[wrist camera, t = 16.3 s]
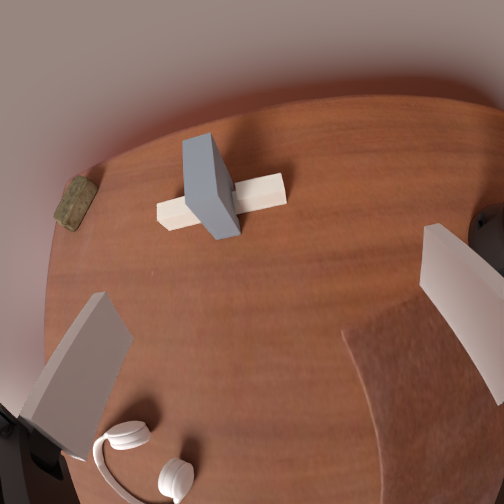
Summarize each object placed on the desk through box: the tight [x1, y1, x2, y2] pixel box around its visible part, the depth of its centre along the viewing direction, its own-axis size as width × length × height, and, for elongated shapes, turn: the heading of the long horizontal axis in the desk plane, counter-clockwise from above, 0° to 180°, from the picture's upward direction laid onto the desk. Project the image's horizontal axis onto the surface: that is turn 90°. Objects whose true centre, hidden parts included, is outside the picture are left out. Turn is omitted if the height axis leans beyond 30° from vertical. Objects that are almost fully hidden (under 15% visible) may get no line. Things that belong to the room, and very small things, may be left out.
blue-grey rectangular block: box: [183, 133, 241, 240], centre depth 39 cm, size 10×4×13 cm, turn 10°
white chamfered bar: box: [157, 173, 287, 231], centre depth 43 cm, size 20×3×4 cm, turn 100°
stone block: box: [54, 176, 97, 232], centre depth 50 cm, size 6×12×5 cm, turn 157°
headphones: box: [93, 421, 194, 504], centre depth 32 cm, size 7×18×20 cm
